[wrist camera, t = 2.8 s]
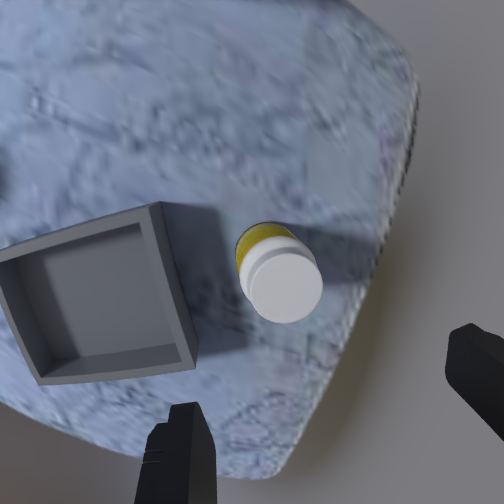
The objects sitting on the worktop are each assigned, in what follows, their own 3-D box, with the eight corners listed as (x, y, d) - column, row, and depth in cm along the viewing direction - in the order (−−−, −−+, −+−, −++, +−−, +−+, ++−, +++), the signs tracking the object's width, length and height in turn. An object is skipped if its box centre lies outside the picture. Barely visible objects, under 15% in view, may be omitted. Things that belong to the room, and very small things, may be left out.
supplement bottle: (222, 255, 25) (222, 296, 17) (262, 207, 24) (282, 226, 16) (269, 292, 26) (290, 344, 18) (308, 247, 25) (347, 282, 17)
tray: (10, 245, 23) (-16, 256, 19) (159, 201, 23) (148, 207, 19) (55, 363, 26) (38, 385, 22) (198, 342, 26) (195, 368, 22)
